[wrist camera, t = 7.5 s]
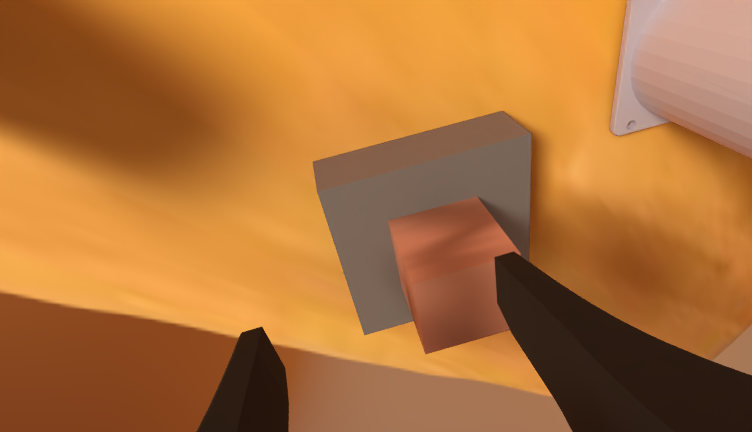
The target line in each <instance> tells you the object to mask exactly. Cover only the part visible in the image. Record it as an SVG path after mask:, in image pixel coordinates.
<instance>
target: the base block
mask: <svg viewBox="0 0 752 432" xmlns="http://www.w3.org/2000/svg"><path fill="white" fill-rule="evenodd" d="M531 142H532V133H531V132H529V131H528V130H527V129H525V128H524V127H523V126H522V125H520V124H519V123H518V122H516V121H515V120H514V119H513V118H511V117H510V116H509V115H507V114H506V113H505V112H504V111H500V112H497V113H493V114H489V115H485V116H482V117H478V118H474V119H471V120H467V121H463V122H459V123H456V124H452V125H448V126H445V127H441V128H437V129H433V130H430V131H426V132H422V133H418V134H415V135H411V136H407V137H404V138H400V139H396V140H392V141H389V142H385V143H381V144H377V145H374V146H370V147H366V148H363V149H359V150H355V151H351V152H348V153H344V154H340V155H337V156H333V157H329V158H325V159H322V160H318V161H314V162H313V167H314V173H315V180H316V187H317V192H318V195H319V198H320V201H321V204H322V208H323V211H324V214H325V217H326V220H327V223H328V226H329V229H330V232H331V235H332V238H333V241H334V244H335V247H336V250H337V253H338V256H339V259H340V262H341V265H342V268H343V271H344V274H345V277H346V280H347V283H348V286H349V289H350V292H351V296H352V299H353V302H354V305H355V308H356V311H357V314H358V317H359V320H360V323H361V326H362V329H363V332H364V335H367V334H370V333H374V332H377V331H381V330H384V329H388V328H391V327H395V326H398V325H401V324H405V323H408V322H412V321H414V320H413V317H412V314H411V311H410V309H409V306H408V303H407V300H406V297H405V294H404V292H403V289H402V285H401V281H400V276H399V271H398V267H397V262H396V257H395V253H394V248H393V244H392V239H391V234H390V230H389V225H388V220H392V219H396V218H399V217H403V216H407V215H410V214H414V213H418V212H421V211H425V210H429V209H432V208H436V207H440V206H443V205H447V204H451V203H454V202H458V201H462V200H466V199H469V198H473V197H478V198H479V200H480V201H481V202H482V204H483V205H484V206H485V207H486V209H487V210H488V211H489V213H490V214H491V215H492V217H493V218H494V219H495V221H496V222H497V223H498V224H499V226H500V227H501V228H502V230H503V231H504V232H505V234H506V235H507V236H508V237H509V239H510V240H511V241H512V243H513V244H514V245H515V247H516V248H517V249H518V251H519V252H520V253H521V257H523V258H524V259H526V260H527V261H528V262H529V233H530V187H531Z"/></svg>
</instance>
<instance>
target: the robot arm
mask: <svg viewBox="0 0 752 432" xmlns="http://www.w3.org/2000/svg"><path fill="white" fill-rule="evenodd" d="M630 121H631V122H630ZM629 122H630V124H629V125H628V126H627V124H628V123H629ZM668 122H674V123H676V124H678V125H680V126H682V127H684V128H686V129H689V130H691V131H693V132H695V133H697V134H699V135H701V136H704V137H706V138H708V139H710V140H712V141H714V142H716V143H718V144H721V145H723V146H725V147H727V148H729V149H731V150H733V151H736V152H738V153H740V154H742V155H744V156H746V157H748V158H751V159H752V0H627V7H626V14H625V21H624V28H623V36H622V43H621V50H620V57H619V65H618V72H617V79H616V86H615V93H614V101H613V108H612V115H611V122H610V131H611V133H613V134H615V135H617V136H621V135H624V134H628V133H632V132H635V131H639V130H643V129H646V128H650V127H653V126H657V125H661V124H664V123H668ZM494 259H495V275H496V292H497V304H498V306H499V308H500V310H501V312H502V314H503V316H504V318H505V320H506V322H507V324H508V326H509V328H510V330H511V332H512V334H513V336H514V337H515V339H516V340H517V342H518V343H519V345H520V347H521V348H522V350H523V351H524V353H525V354H526V356H527V357H528V359H529V360H530V362H531V363H532V365H533V367H534V368H535V370H536V371H537V373H538V374H539V376H540V377H541V379H542V380H543V382H544V383H545V385H546V386H547V388H548V389H549V391H550V393H551V394H552V396H553V397H554V399H555V400H556V402H557V404H558V405H559V407H560V409H561V411H562V412H563V414H564V416H565V418H566V420H567V422H568V424H569V426H570V428H571V429H572V431H573V432H752V375H749V374H746V373H742V372H740V371H737V370H735V369H732V368H729V367H726V366H723V365H721V364H718V363H715V362H712V361H710V360H707V359H705V358H702V357H700V356H697V355H695V354H692V353H690V352H688V351H685V350H683V349H681V348H678V347H676V346H673V345H671V344H669V343H666V342H664V341H662V340H659V339H657V338H655V337H653V336H651V335H649V334H647V333H645V332H643V331H641V330H639V329H637V328H635V327H633V326H631V325H629V324H627V323H625V322H623V321H621V320H619V319H617V318H616V317H614V316H612V315H610V314H608V313H607V312H605V311H603V310H601V309H600V308H598V307H596V306H595V305H593V304H591V303H590V302H588V301H586V300H585V299H583V298H581V297H580V296H578V295H577V294H575V293H574V292H572V291H571V290H569V289H567V288H566V287H564V286H563V285H561V284H560V283H558V282H557V281H555V280H554V279H552V278H551V277H549V276H548V275H547V274H545V273H544V272H542V271H541V270H539V269H538V268H537V267H535V266H534V265H533V264H531V263H530V262H528V261H527V260H526V259H524V258H523V257H521V256H520V255H519V254H517V253H516V252H514V251H513V252H510V253H506V254H503V255H500V256H496V257H494ZM288 414H289V401H288V389H287V380H286V372H285V367H284V365H283V363H282V361H281V360H280V358H279V356H278V354H277V352H276V351H275V349H274V347H273V345H272V344H271V342H270V340H269V338H268V337H267V335H266V333H265V331H264V329H263V328H262V327H259V328H256V329H252V330H249V331H246V332H242V333H241V335H240V336H239V339H238V341H237V344H236V346H235V349H234V352H233V354H232V356H231V359H230V361H229V364H228V366H227V368H226V370H225V373H224V375H223V377H222V380H221V382H220V384H219V386H218V389H217V391H216V393H215V395H214V397H213V400H212V402H211V404H210V406H209V408H208V410H207V412H206V414H205V416H204V418H203V420H202V422H201V424H200V426H199V428H198V430H197V432H288V420H289V416H288Z"/></svg>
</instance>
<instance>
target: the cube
mask: <svg viewBox="0 0 752 432" xmlns="http://www.w3.org/2000/svg"><path fill="white" fill-rule="evenodd" d="M388 225H389V230H390V234H391V239H392V244H393V248H394V253H395V257H396V262H397V267H398V271H399V276H400V281H401V285H402V289H403V292H404V294H405V297H406V300H407V303H408V306H409V309H410V311H411V314H412V317H413V320H414V323H415V326H416V328H417V331H418V334H419V337H420V340H421V343H422V346H423V348H424V351H425V354H428V353H432V352H435V351H439V350H442V349H445V348H449V347H452V346H456V345H459V344H463V343H466V342H470V341H473V340H477V339H480V338H483V337H487V336H490V335H494V334H497V333H501V332H504V331H508V330H510V328H509V326H508V324H507V322H506V320H505V318H504V316H503V314H502V312H501V310H500V308H499V306H498V304H497V292H496V275H495V259H494V257H496V256H500V255H503V254H506V253H510V252H513V251H514V252H516V253H517V254H519V255H520V256H521V253H520V252H519V251H518V249H517V248H516V247H515V245H514V244H513V243H512V241H511V240H510V239H509V237H508V236H507V235H506V234H505V232H504V231H503V230H502V228H501V227H500V226H499V224H498V223H497V222H496V221H495V219H494V218H493V217H492V215H491V214H490V213H489V211H488V210H487V209H486V207H485V206H484V205H483V204H482V202H481V201H480V200H479V198H478V197H473V198H469V199H466V200H462V201H458V202H454V203H451V204H447V205H443V206H440V207H436V208H432V209H429V210H425V211H421V212H418V213H414V214H410V215H407V216H403V217H399V218H396V219H392V220H388Z"/></svg>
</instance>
